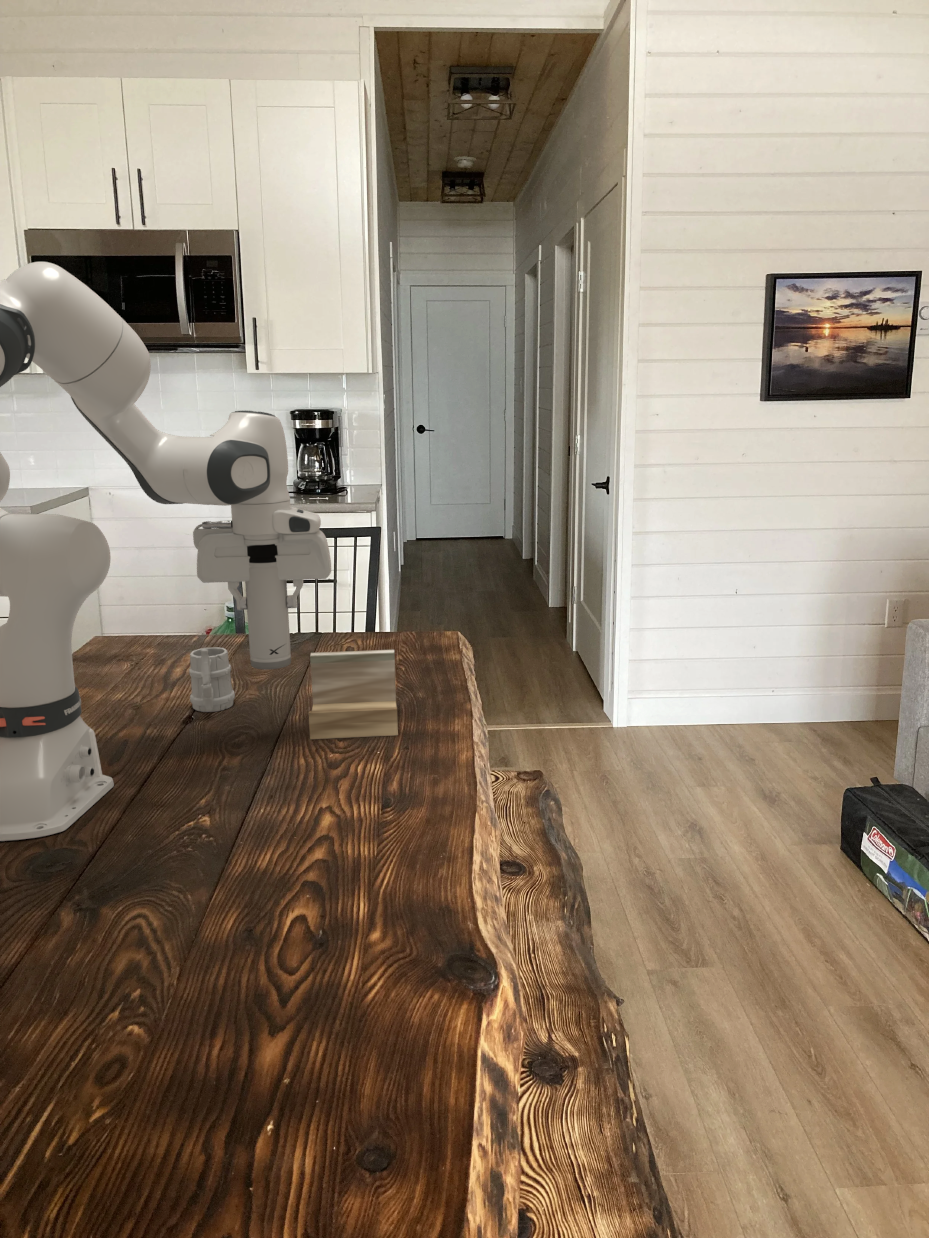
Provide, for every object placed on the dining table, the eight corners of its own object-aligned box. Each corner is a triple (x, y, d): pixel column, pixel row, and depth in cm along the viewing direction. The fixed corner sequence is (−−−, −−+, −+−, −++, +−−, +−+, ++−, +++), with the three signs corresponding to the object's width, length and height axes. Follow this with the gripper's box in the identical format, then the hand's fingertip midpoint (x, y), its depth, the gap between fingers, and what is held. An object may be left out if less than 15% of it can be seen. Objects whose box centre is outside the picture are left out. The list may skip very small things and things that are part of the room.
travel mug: (284, 670, 146) (276, 541, 141) (244, 669, 147) (235, 541, 142) (299, 660, 151) (292, 536, 147) (260, 658, 153) (252, 535, 148)
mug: (236, 697, 172) (232, 633, 169) (231, 719, 160) (226, 651, 157) (193, 699, 170) (187, 635, 168) (185, 722, 159) (179, 653, 156)
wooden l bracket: (397, 735, 152) (395, 669, 149) (310, 739, 151) (306, 673, 148) (396, 710, 163) (394, 649, 161) (314, 714, 162) (310, 652, 159)
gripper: (187, 524, 140) (195, 615, 143) (327, 521, 141) (332, 610, 145) (195, 518, 146) (203, 605, 149) (329, 515, 147) (333, 601, 151)
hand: (267, 608), depth 147 cm, fingers closed on travel mug, 6 cm apart
